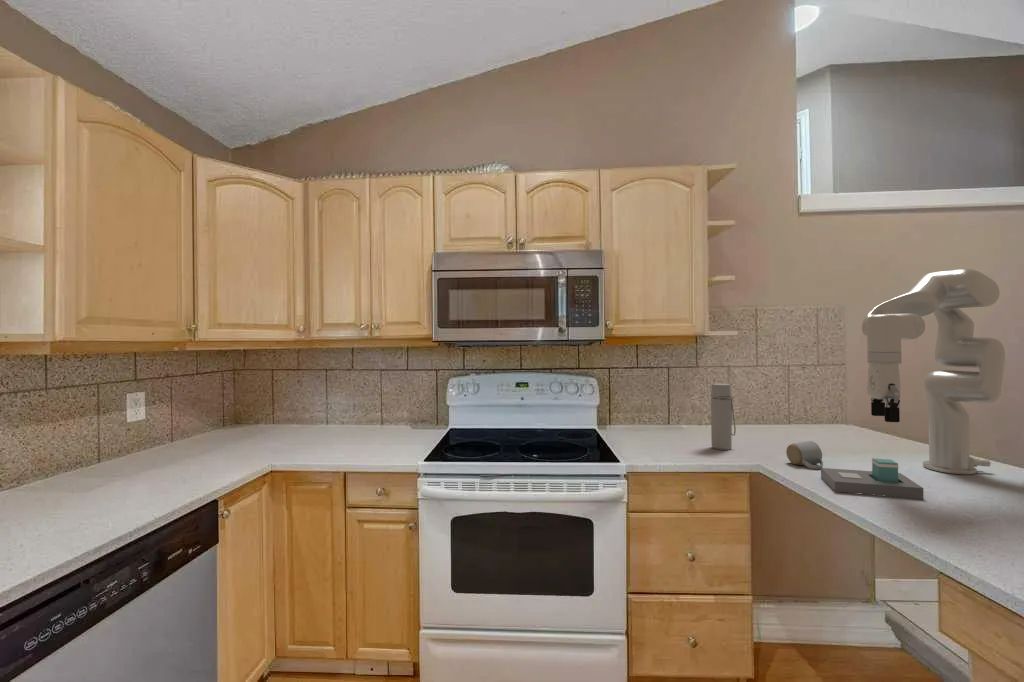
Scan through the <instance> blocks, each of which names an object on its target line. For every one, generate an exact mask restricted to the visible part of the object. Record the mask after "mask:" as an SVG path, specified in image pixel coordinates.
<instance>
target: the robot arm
mask: <svg viewBox="0 0 1024 682" xmlns="http://www.w3.org/2000/svg"><path fill="white" fill-rule="evenodd" d="M1000 294H1001V293H1000V287H999V285H998V283H997V282H996V281H995V280H994V279H993V278H991V277H989V276H987V275H986V274H984V273H983V272H980V271H978V270H976V269H972V268H958V269H949V270H941V271H933V272H929V273H926V274H924V275H923V276H922V277H920V279H918V281H917V282H916V283H915V284H914V285H912V287H911V288H910V289H909V290H908V291H907V292H906V293H904V294H901V295H899V296H896V297H894V298H892V299H889V300H887V301H884V302H882V303H880V304H878V305H876V306H875V307H874V308H873V309H871V310H870V311H869V312H868V313H867V314H866V316H865V317H864V319H863V321H862V324H861V333H862V334H863V336H865V337H866V348H867V349H866V353H867V354H866V355H867V359H866V361H867V364H868V370H867V387H866V391H867V396H869V397H871V398H870V409H871V412H870V415H871V416H873V417H884V422H886V423H900V421H901V420H900V419H901V418H900V417H901V416H900V413H901V411H900V407H901V405H900V403H901V399H900V398H901V377H900V376H901V375H900V368H899V365H901V364H902V340H905V341H907V340H908V341H909V340H916V339H918V338H919V337H921V336H922V335H923V334H924V332H925V331H926V330H925V329H926V321H925V320H924V319H923V317H926V316H928V315H930V314H932V313H933V315H934V317H935V318H936V321H937V332H936V339H935V341H936V342H935V346H934V347H935V349H934V358H935V359H934V360H935V362H936V364H939V365H940V366H943V367H949V368H964V369H965V368H969V369H970V368H971V369H972V368H973V369H979V371H969V370H968V371H967V370H949V369H948V370H947V369H944V370H943V369H940V370H939V369H938V370H934V371H931V372H929V373H927V374H926V376H925V377H924V381H923V383H924V384H923V385H924V390H925V394H926V398H927V407H928V460H925V461H923V462H922V466H923V467H924V468H926V469H929V470H930V471H936V472H941V473H946V474H952V475H954V474H955V475H975V474H977V472H978V471H977V467H978V466H981V467H989V468H990V466H991V461H990V460H989V459H988V460H987V459H979V458H974V457H972V456H971V454H970V451H971V449H970V439H971V438H970V414H969V413H968V411H967V409H966V408H965V407H964V406H963V405H962V403H961V402H964V403H965V402H966V403H976V404H993V403H996V402H997V401H999V399H1000V397H1001V394H1002V389H1003V380H1004V371H1005V361H1006V350H1005V347H1004V345H1003V343H1002V341H1000V340H999V339H997V338H995V337H984V336H983V337H980V336H979V337H974V331H975V323H974V321H973V319H972V318H971V317H970V316H969V315H968V314H967V313H966V312H965V311H963V310H962V309H963V308H964V309H966V308H968V309H969V308H983V307H991V306H993V305H994V304H996V303H997V302H998V300H999V297H1000Z"/></svg>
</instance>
